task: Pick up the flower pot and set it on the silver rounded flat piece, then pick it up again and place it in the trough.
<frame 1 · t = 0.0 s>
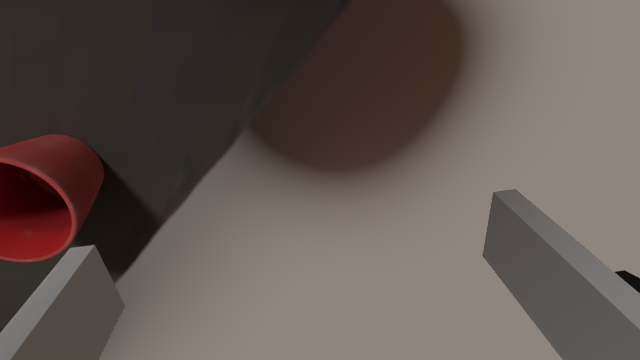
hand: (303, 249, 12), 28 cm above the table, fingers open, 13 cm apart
flower pot: (67, 165, 39), on the table
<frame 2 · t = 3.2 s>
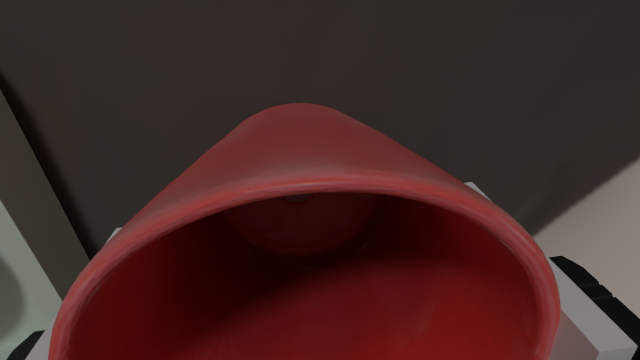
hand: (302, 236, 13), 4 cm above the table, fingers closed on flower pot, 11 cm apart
flower pot: (298, 180, 16), on the table, touching gripper
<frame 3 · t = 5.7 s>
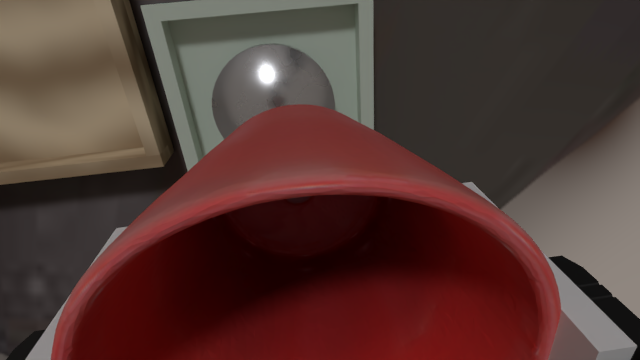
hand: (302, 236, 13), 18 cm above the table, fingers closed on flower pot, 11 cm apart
silver rounded flat piece: (274, 107, 26), point 2 cm above the table, slide at 0.0 cm
checker cradle: (275, 99, 29), on the table
flower pot: (299, 181, 16), point 14 cm above the table, touching gripper
trough: (3, 64, 25), on the table
when the fingers open (7 cm above the table, at t = 8.4 s): flower pot drops 1 cm, resting on silver rounded flat piece.
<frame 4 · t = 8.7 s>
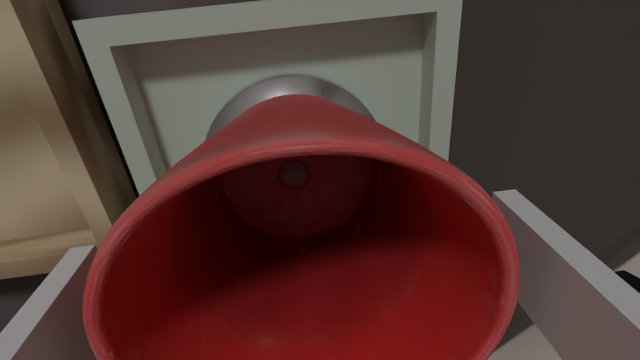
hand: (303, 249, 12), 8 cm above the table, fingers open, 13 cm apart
silver rounded flat piece: (296, 165, 18), point 2 cm above the table, slide at 0.8 cm, touching flower pot
checker cradle: (294, 153, 19), on the table
flower pot: (296, 167, 18), point 2 cm above the table, touching silver rounded flat piece
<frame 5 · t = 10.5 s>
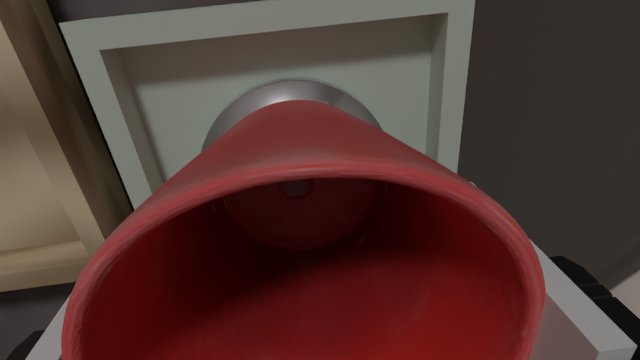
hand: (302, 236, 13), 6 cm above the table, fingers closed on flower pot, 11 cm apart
silver rounded flat piece: (297, 174, 17), point 2 cm above the table, slide at 0.8 cm, touching flower pot
checker cradle: (296, 160, 18), on the table
flower pot: (297, 175, 17), point 2 cm above the table, touching silver rounded flat piece, gripper
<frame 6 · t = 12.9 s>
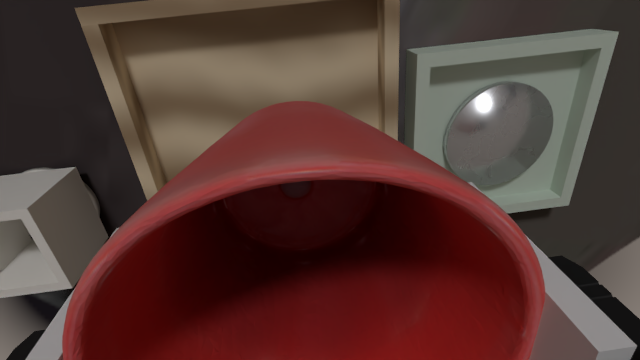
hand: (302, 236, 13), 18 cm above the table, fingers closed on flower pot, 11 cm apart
silver rounded flat piece: (497, 136, 30), point 2 cm above the table, slide at 0.8 cm
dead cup: (55, 204, 30), on the table
checker cradle: (487, 129, 31), on the table
flower pot: (298, 176, 17), point 13 cm above the table, touching gripper
trough: (264, 104, 28), on the table
when the fingers open (6 cm above the table, at t = 15.5 s): flower pot stays where it is, resting on trough.
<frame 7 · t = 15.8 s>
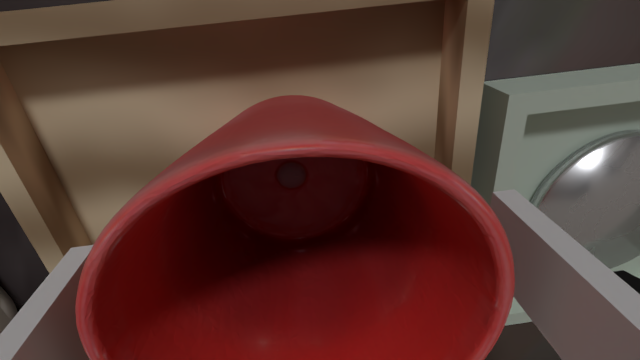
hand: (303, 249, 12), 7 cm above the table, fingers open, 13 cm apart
silver rounded flat piece: (608, 208, 20), point 2 cm above the table, slide at 0.8 cm
checker cradle: (585, 193, 21), on the table
flower pot: (293, 168, 18), point 1 cm above the table, touching trough
trough: (257, 165, 18), on the table
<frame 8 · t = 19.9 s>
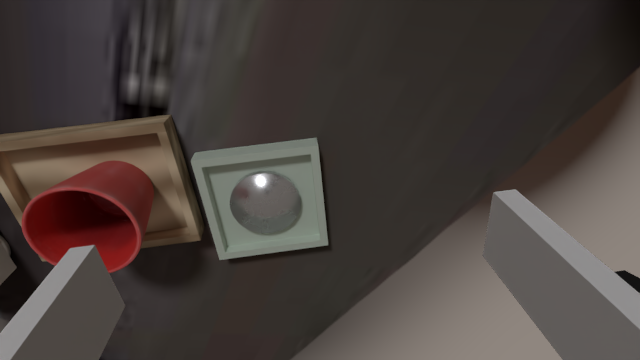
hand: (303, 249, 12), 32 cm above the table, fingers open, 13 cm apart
silver rounded flat piece: (265, 203, 46), point 2 cm above the table, slide at 0.8 cm
checker cradle: (266, 196, 47), on the table
flower pot: (121, 186, 44), point 1 cm above the table, touching trough
trough: (108, 185, 44), on the table
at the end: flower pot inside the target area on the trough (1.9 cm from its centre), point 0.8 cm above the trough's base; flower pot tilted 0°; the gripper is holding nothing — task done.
